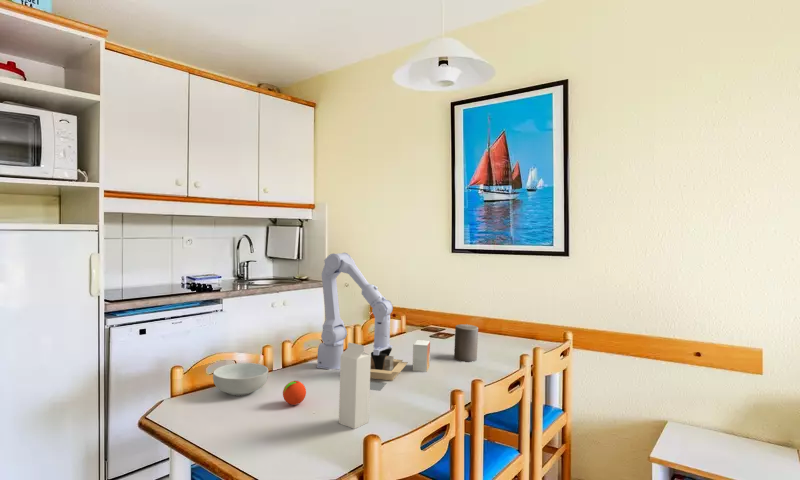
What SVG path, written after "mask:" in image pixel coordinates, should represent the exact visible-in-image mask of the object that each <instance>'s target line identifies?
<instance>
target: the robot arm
mask: <svg viewBox="0 0 800 480" xmlns="http://www.w3.org/2000/svg"><path fill="white" fill-rule="evenodd" d="M323 261H324V262H323V263H324V266H323V269H322V272H321V281H322V283H321V284H322V292H323V302H324V314H325V321H324V323H323V324H322V332H321V340H322V342H320V343H319V344H318V347H317V357H316V358H317V360H316V361H317V362H316V363H317V366H316V368H317V369H325V370H336V371H337V370H338V371H340V361H341V355H342V354H343V353H344V342H345V341H344V340H345V339H346V338H347V336H348V331H347V328H346V326H345V322H344V320H343V319H342V318H341V314H340V313H341V312H340V304H339V294H338V292H339V291H338V285H337V284H338V283H337V277H338V276H339V275H340V274H341V273H344V274H347V275H349V276H350V277H351V278H352V280H353V281H354V282H355V284H357V286H358V287H359V288H361V295H362V296H363V298H364V300H366V302H367V303H368V305H369V306H370V308H372V309H371V310H372V311H371V312H372V314H373V316H374V332H373V333H374V334H373V337H374V338H373V345H372V346H373V351H371V352H370V355H371V356H372V358H373V361H374V364H375V369H376V370H383V364H384V360H385V357H386V356H391V355H390V354H391V352H392V350H393V345H391V343H390V341H391V340H390V338H391V335H390V334H391V314H392V313H393V309H394V307H393V304H392V302H391V300H389V299H387V298H386V297H385V296H383V294H382V293H381V292H380V291H379V287H378V286H377V285H375V284H373V283H372V284H371V283H370V282H368V280H367V279H366V277H365V276H364V274H363V273H362V271H361V270H360V269H359V267H358V266H357V265H356V261H355V259H353V258H352V256H351V255H350V254H349V253H348V252H342V253H341V252H338V253H330V254H328V256H327V257H326V258H325V259H324V260H323Z"/></svg>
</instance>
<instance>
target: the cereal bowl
mask: <svg viewBox="0 0 800 480" xmlns="http://www.w3.org/2000/svg"><path fill="white" fill-rule="evenodd" d="M268 376H269V368H268V367H267V366H266V365H264V364H259V363H254V362H253V363H252V362H237V363H230V364H225V365H222V366H219V367H217V368H216V369H215V370H213V373H212V381H213V384H214V385H215V387H216V389H218V390H219V391H221V392H224V393H227V394H228V395H230V396H235V395H236V396H239V397H240V395H241V396H247V395H250V394H252V393H253V392H256V391H258V390H260V389H261V388H262V387H263V386H264V385H265V384H266V382H267V380H268Z"/></svg>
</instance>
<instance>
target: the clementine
mask: <svg viewBox="0 0 800 480" xmlns="http://www.w3.org/2000/svg"><path fill="white" fill-rule="evenodd" d="M282 396H283V399H284V401H285V402H286V403H287V404H288V405H291V406H292V405H293V406H296V405H299V404H300V403H302V402H303V401H304V400H305V399H306V396H307V389H306V387H305V385H304V383H303V382H301V381H298V380H292V381H289V382H288V383H287V384H285V386H284V388H283V390H282Z"/></svg>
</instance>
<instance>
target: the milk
mask: <svg viewBox="0 0 800 480" xmlns="http://www.w3.org/2000/svg"><path fill="white" fill-rule="evenodd" d="M370 365H371V354H370V353H368V352H366V351H365V345H361V344H359V343H354V342H348V343H347V348H346V349H345V350H343V354H342V355H341V361H340V370H339V400H338V402H339V403H338V407H339V408H338V424H340V425H342V426H346V427H348V428H352V429H354V430H355V429H358V428H359V427H362V426H364V425H366V424H369V422H370V397H371V395H370V394H371V390H370V381H371V378H370Z"/></svg>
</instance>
